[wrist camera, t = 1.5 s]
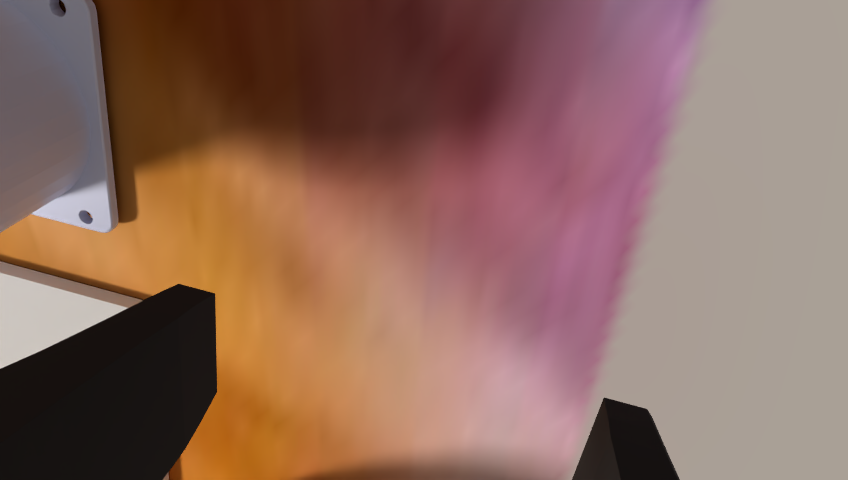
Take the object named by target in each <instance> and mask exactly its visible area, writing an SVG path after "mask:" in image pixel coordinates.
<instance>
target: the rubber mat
mask: <svg viewBox="0 0 848 480" xmlns="http://www.w3.org/2000/svg"><path fill="white" fill-rule="evenodd" d="M141 301H143V300H140V299H137V298H133V297H129V296H126V295H122V294H118V293H115V292H111V291H107V290H104V289H100V288H96V287H93V286H89V285H85V284H82V283H78V282H74V281H71V280H67V279H63V278H60V277H56V276H52V275H49V274H45V273H41V272H38V271H34V270H30V269H27V268H23V267H19V266H16V265H12V264H8V263H5V262H1V261H0V369H1V368H3V367H5V366H8V365H10V364H12V363H14V362H17V361H19V360H21V359H23V358H26V357H28V356H30V355H32V354H35V353H37V352H39V351H41V350H44V349H46V348H48V347H50V346H52V345H54V344H56V343H58V342H60V341H62V340H64V339H66V338H68V337H70V336H72V335H75V334H77V333H79V332H81V331H83V330H85V329H87V328H89V327H91V326H93V325H95V324H97V323H99V322H101V321H103V320H105V319H107V318H109V317H111V316H113V315H115V314H117V313H119V312H121V311H123V310H125V309H127V308H129V307H131V306H133V305H135V304H137V303H139V302H141ZM163 480H169V472H168V473H167V475H166V476H165V477H164V479H163Z"/></svg>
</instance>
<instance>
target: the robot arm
mask: <svg viewBox="0 0 848 480" xmlns="http://www.w3.org/2000/svg"><path fill="white" fill-rule="evenodd" d="M61 1H62V2H63V3H64V5H65V8H66V13H65V12H63V10H62V9H61V8H60V5H59V0H0V232H2V231H4V230H5V229H7V228H9V227H10V226H12V225H14V224H15V223H17V222H18V221H20V220H22V219H23V218H25V217H27V216H28V215H30V214H33V215H36V216H40V217H44V218H48V219H52V220H56V221H59V222H63V223H67V224H71V225H75V226H79V227H82V228H86V229H90V230H94V231H98V232H102V233H107V232H110V231H111V230H113V229H114V228H115V227H116V226H117V225H118V220H119V219H118V210H117V200H116V191H115V181H114V171H113V162H112V152H111V143H110V133H109V124H108V114H107V105H106V95H105V85H104V76H103V66H102V57H101V47H100V38H99V28H98V19H97V11H96V7H95V4H94V3H93V1H92V0H61ZM87 212H89V213H90V214H91V216H92V217H90V216H89V215H88V214H87ZM216 393H217V367H216V317H215V293H211V292H207V291H203V290H200V289H196V288H192V287H188V286H185V285H181V284H177V285H175V286H173V287H171V288H168V289H166V290H164V291H162V292H160V293H158V294H156V295H154V296H151V297H149V298H147V299H145V300H143V301H141V302H139V303H137V304H135V305H133V306H131V307H129V308H127V309H125V310H123V311H121V312H119V313H117V314H115V315H113V316H111V317H109V318H107V319H105V320H103V321H101V322H99V323H97V324H95V325H93V326H91V327H89V328H87V329H85V330H83V331H81V332H79V333H77V334H75V335H72V336H70V337H68V338H66V339H64V340H62V341H60V342H58V343H56V344H54V345H52V346H50V347H48V348H46V349H44V350H41V351H39V352H37V353H35V354H32V355H30V356H28V357H26V358H23V359H21V360H19V361H17V362H14V363H12V364H10V365H8V366H5V367H3V368H1V369H0V480H163V479H164V477H165V476H166V475H167V473H168V472H169V471H170V469H171V468H172V466H173V465H174V464H175V462H176V461H177V459H178V458H179V457H180V455H181V454H182V452H183V451H184V450H185V448H186V446H187V445H188V443H189V441H190V440H191V438H192V436H193V434H194V433H195V431H196V429H197V427H198V426H199V424H200V422H201V420H202V419H203V417H204V415H205V413H206V411H207V409H208V407H209V406H210V404H211V402H212V400H213V398H214V396H215V395H216ZM572 480H680V479H679V477H678V475H677V473H676V471H675V468H674V466H673V464H672V462H671V459H670V457H669V455H668V453H667V451H666V448H665V446H664V444H663V442H662V439H661V437H660V435H659V432H658V430H657V428H656V425H655V423H654V421H653V418H652V416H651V415H650V413H649V411H648V410H647V409H645V408H641V407H637V406H633V405H630V404H626V403H622V402H618V401H615V400H611V399H607V398H604V399H603V402H602V404H601V407H600V409H599V412H598V414H597V417H596V419H595V422H594V425H593V427H592V430H591V432H590V435H589V438H588V440H587V443H586V445H585V448H584V450H583V453H582V455H581V458H580V461H579V463H578V466H577V468H576V471H575V473H574V476H573V479H572Z"/></svg>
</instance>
